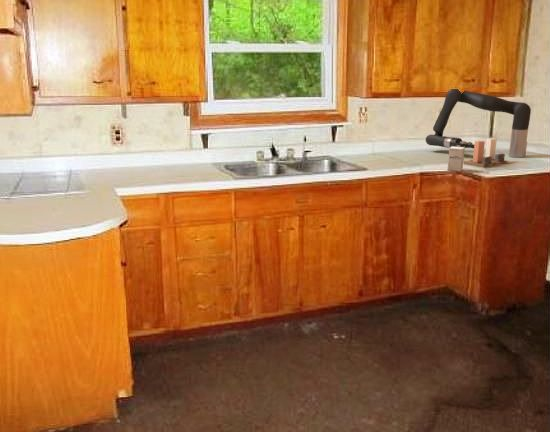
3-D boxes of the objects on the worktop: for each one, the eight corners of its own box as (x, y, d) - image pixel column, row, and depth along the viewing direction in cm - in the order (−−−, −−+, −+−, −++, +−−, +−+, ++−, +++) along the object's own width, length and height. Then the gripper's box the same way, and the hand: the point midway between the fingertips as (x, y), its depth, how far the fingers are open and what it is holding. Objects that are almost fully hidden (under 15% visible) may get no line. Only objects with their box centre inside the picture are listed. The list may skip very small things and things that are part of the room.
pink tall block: (478, 161, 313) (480, 140, 310) (482, 161, 311) (484, 141, 308) (472, 161, 311) (474, 141, 308) (477, 162, 308) (479, 142, 305)
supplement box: (447, 170, 297) (448, 147, 293) (449, 168, 303) (451, 146, 300) (460, 171, 294) (462, 148, 290) (463, 169, 300) (465, 146, 296)
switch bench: (488, 160, 326) (489, 151, 324) (507, 163, 315) (508, 154, 313) (463, 163, 315) (464, 154, 313) (483, 167, 304) (483, 157, 302)
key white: (490, 158, 322) (492, 138, 319) (494, 158, 320) (496, 138, 317) (484, 158, 320) (486, 138, 317) (489, 159, 317) (491, 139, 314)
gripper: (446, 138, 337) (468, 141, 323) (460, 136, 344) (483, 139, 330) (445, 149, 339) (467, 153, 325) (459, 148, 346) (481, 151, 332)
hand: (475, 146), depth 327 cm, fingers closed
